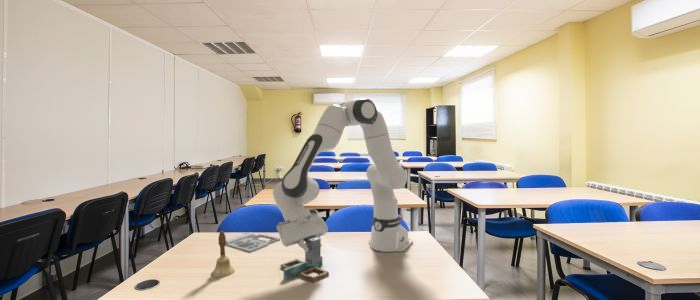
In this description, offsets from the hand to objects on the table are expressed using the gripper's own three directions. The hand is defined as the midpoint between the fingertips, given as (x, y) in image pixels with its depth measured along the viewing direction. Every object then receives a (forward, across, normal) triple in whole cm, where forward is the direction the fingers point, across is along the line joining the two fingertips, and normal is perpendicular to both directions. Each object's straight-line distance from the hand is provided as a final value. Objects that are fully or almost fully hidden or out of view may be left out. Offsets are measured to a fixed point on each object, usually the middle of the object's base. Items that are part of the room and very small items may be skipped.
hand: (314, 249), depth 120 cm
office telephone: (-29, +5, +45) cm, 54 cm away
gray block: (+3, 0, +4) cm, 5 cm away
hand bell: (-13, -21, +28) cm, 37 cm away
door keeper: (+3, 0, +11) cm, 12 cm away
